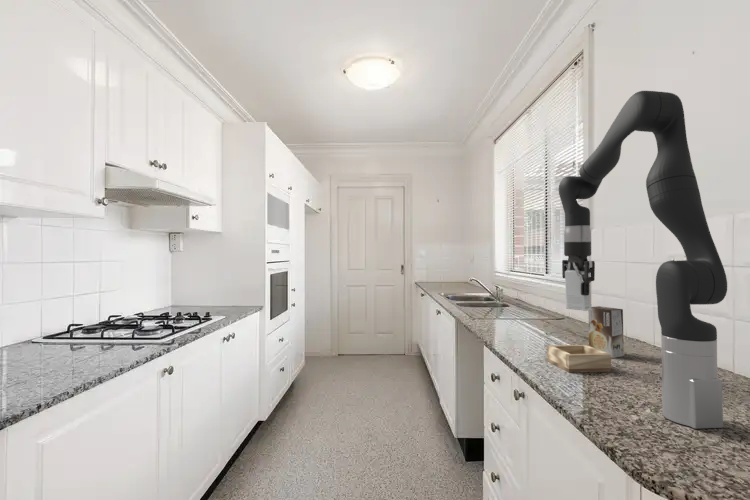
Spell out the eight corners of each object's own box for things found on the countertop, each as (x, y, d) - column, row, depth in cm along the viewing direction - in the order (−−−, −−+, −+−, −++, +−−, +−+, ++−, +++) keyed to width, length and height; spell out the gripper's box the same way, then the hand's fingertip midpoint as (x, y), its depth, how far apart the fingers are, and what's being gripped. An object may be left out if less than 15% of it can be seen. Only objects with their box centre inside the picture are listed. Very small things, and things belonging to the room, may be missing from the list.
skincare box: (591, 309, 124) (591, 270, 124) (585, 311, 121) (584, 271, 121) (571, 307, 129) (571, 269, 129) (564, 309, 126) (564, 270, 126)
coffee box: (625, 356, 137) (624, 308, 137) (612, 358, 134) (612, 310, 134) (600, 350, 145) (599, 305, 145) (587, 352, 142) (587, 306, 142)
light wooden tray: (611, 371, 119) (611, 354, 119) (568, 372, 118) (568, 355, 118) (585, 359, 132) (585, 344, 132) (546, 360, 131) (546, 345, 131)
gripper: (603, 240, 118) (603, 296, 118) (576, 241, 133) (576, 291, 133) (579, 240, 118) (579, 296, 118) (554, 241, 132) (554, 291, 132)
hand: (577, 293), depth 125 cm, fingers closed on skincare box, 7 cm apart
